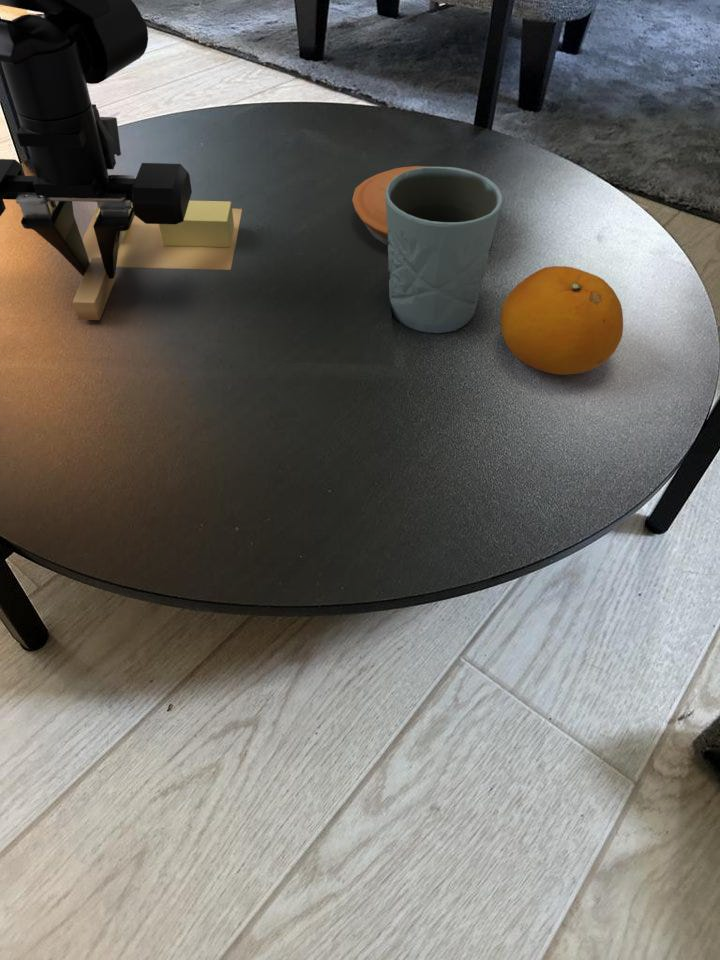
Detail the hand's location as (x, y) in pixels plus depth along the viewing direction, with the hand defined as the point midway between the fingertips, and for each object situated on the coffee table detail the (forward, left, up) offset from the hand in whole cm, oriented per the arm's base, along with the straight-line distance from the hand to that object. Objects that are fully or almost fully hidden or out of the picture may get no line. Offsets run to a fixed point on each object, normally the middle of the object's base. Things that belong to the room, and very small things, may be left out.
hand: (100, 276), depth 70 cm
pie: (+32, +14, -3) cm, 35 cm away
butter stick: (+8, +10, -2) cm, 13 cm away
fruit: (+43, -7, -3) cm, 43 cm away
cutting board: (+4, +10, -3) cm, 11 cm away
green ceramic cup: (+32, 0, -3) cm, 32 cm away
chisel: (0, +3, -1) cm, 3 cm away
